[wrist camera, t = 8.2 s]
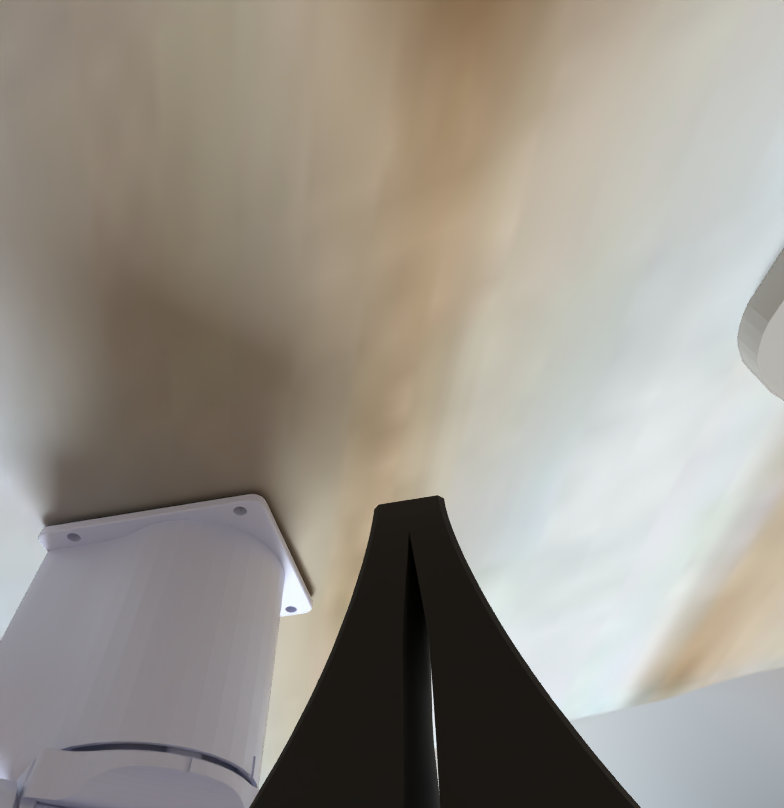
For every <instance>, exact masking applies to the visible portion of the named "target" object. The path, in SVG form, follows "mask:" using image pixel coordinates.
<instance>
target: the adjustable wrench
mask: <svg viewBox="0 0 784 808" xmlns="http://www.w3.org/2000/svg"><path fill="white" fill-rule="evenodd" d="M737 339H738V348H739V352H740V355H741V358H742V361H743V363H744V364H745V365H746V366H747V368H748V369H749V370H750V371H751V372H752V373H753V374H754V375H755V376H756V377H757V378H758V380H759V381H760V382H761V383H762V384H763V385H764V386H765V387H766V388H767V389H768V390H769V391H770V392H771V393H773V394H774V395H776V396H777V397H779V398H780V399H782V400H783V401H784V249H783V250H782V252H781V253H780V255H779V256H778V258H777V260H776V261H775V263H774V264H773V266H772V267H771V269H770V270H769V272H768V273H767V275H766V276H765V278H764V280H763V281H762V283H761V284H760V286H759V287H758V289H757V290H756V292H755V293H754V295H753V297H752V298H751V300H750V301H749V303H748V304H747V307H746V309H745V311H744V313H743V316H742V319H741V322H740V326H739V331H738V337H737Z"/></svg>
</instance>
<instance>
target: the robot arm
mask: <svg viewBox="0 0 784 808" xmlns="http://www.w3.org/2000/svg"><path fill="white" fill-rule="evenodd" d="M239 507H243V508H239ZM38 540H39V541H40V543H41V544H42V545H43V546H44V547H45V548H46V550H47V551H48V552H47V554H46V556H45V558H44V560H43V562H42V564H41V566H40V567H39V569H38V571H37V573H36V575H35V577H34V579H33V581H32V582H31V584H30V586H29V588H28V590H27V592H26V594H25V596H24V598H23V599H22V601H21V603H20V605H19V607H18V609H17V611H16V613H15V614H14V616H13V618H12V620H11V622H10V624H9V626H8V628H7V629H6V631H5V633H4V635H3V637H2V639H1V641H0V808H640V806H639V805H638V804H637V803H636V802H635V801H634V799H633V798H632V797H631V796H630V795H629V794H628V793H627V792H626V790H625V789H624V788H623V787H622V786H621V785H620V783H619V782H618V781H617V780H616V779H615V777H614V776H613V775H612V774H611V773H610V771H608V769H607V768H606V767H605V766H604V764H603V763H602V762H601V761H600V760H599V759H598V757H597V756H596V755H595V754H594V752H593V751H592V750H591V749H590V747H589V746H588V745H587V744H586V743H585V741H584V740H583V739H582V737H581V736H580V735H579V733H578V732H577V731H576V730H575V728H574V727H573V726H572V725H571V723H570V722H569V721H568V719H567V718H566V717H565V715H564V714H563V713H562V712H561V710H560V709H559V708H558V706H557V705H556V704H555V703H554V701H553V700H552V699H551V697H550V696H549V694H548V693H547V692H546V690H545V689H544V687H543V686H542V685H541V683H540V682H539V681H538V679H537V678H536V676H535V675H534V674H533V672H532V671H531V669H530V668H529V666H528V665H527V663H526V662H525V660H524V659H523V657H522V656H521V655H520V653H519V652H518V650H517V649H516V647H515V645H514V644H513V642H512V641H511V639H510V638H509V636H508V635H507V633H506V631H505V630H504V628H503V627H502V625H501V623H500V622H499V620H498V618H497V617H496V615H495V613H494V612H493V610H492V608H491V607H490V605H489V603H488V601H487V599H486V598H485V596H484V594H483V592H482V591H481V589H480V587H479V585H478V583H477V581H476V579H475V577H474V575H473V573H472V571H471V569H470V567H469V566H468V564H467V561H466V559H465V557H464V555H463V553H462V551H461V549H460V546H459V544H458V541H457V539H456V537H455V534H454V532H453V529H452V526H451V524H450V521H449V518H448V514H447V511H446V507H445V502H444V498H442V497H440V496H438V495H437V496H431V497H424V498H418V499H412V500H405V501H399V502H393V503H386V504H380V505H378V506H377V507H376V508H375V509H374V516H373V522H372V527H371V532H370V536H369V541H368V545H367V549H366V552H365V556H364V560H363V563H362V567H361V570H360V573H359V576H358V579H357V583H356V586H355V589H354V592H353V595H352V598H351V601H350V604H349V607H348V610H347V612H346V615H345V618H344V620H343V623H342V625H341V628H340V631H339V633H338V636H337V638H336V641H335V644H334V646H333V649H332V651H331V653H330V656H329V658H328V660H327V663H326V665H325V667H324V669H323V672H322V674H321V676H320V678H319V680H318V683H317V685H316V687H315V689H314V691H313V693H312V695H311V697H310V700H309V702H308V704H307V705H306V707H305V709H304V711H303V713H302V715H301V717H300V719H299V721H298V723H297V725H296V727H295V729H294V731H293V733H292V735H291V737H290V738H289V740H288V742H287V744H286V746H285V748H284V749H283V751H282V753H281V755H280V757H279V758H278V760H277V762H276V764H275V765H274V767H273V769H272V770H271V772H270V774H269V775H268V777H267V779H266V780H265V782H264V784H263V785H262V787H261V789H260V790H259V789H258V787H259V780H260V772H261V764H262V756H263V748H264V740H265V732H266V724H267V716H268V708H269V700H270V693H271V685H272V677H273V669H274V661H275V653H276V645H277V637H278V629H279V621H280V617H281V616H288V615H295V614H302V613H307V612H309V611H310V610H311V609H312V603H313V602H312V598H311V596H310V594H309V592H308V590H307V588H306V585H305V583H304V581H303V579H302V577H301V575H300V573H299V571H298V568H297V566H296V564H295V562H294V560H293V558H292V556H291V554H290V551H289V549H288V547H287V545H286V543H285V541H284V539H283V537H282V534H281V532H280V530H279V528H278V526H277V524H276V522H275V519H274V517H273V515H272V513H271V511H270V509H269V507H268V505H267V502H266V501H265V499H264V498H263V497H261V496H260V495H256V494H247V495H241V496H235V497H229V498H222V499H216V500H210V501H204V502H197V503H191V504H185V505H179V506H172V507H166V508H160V509H154V510H147V511H141V512H135V513H129V514H122V515H116V516H110V517H104V518H97V519H91V520H85V521H79V522H73V523H66V524H60V525H54V526H48V527H45V528H43V529H42V530H41V532H40V534H39V536H38ZM431 671H432V684H433V698H434V713H435V728H436V743H437V759H438V776H439V787H438V779H437V769H436V760H435V751H434V739H433V723H432V691H431ZM439 794H440V796H439Z"/></svg>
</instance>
